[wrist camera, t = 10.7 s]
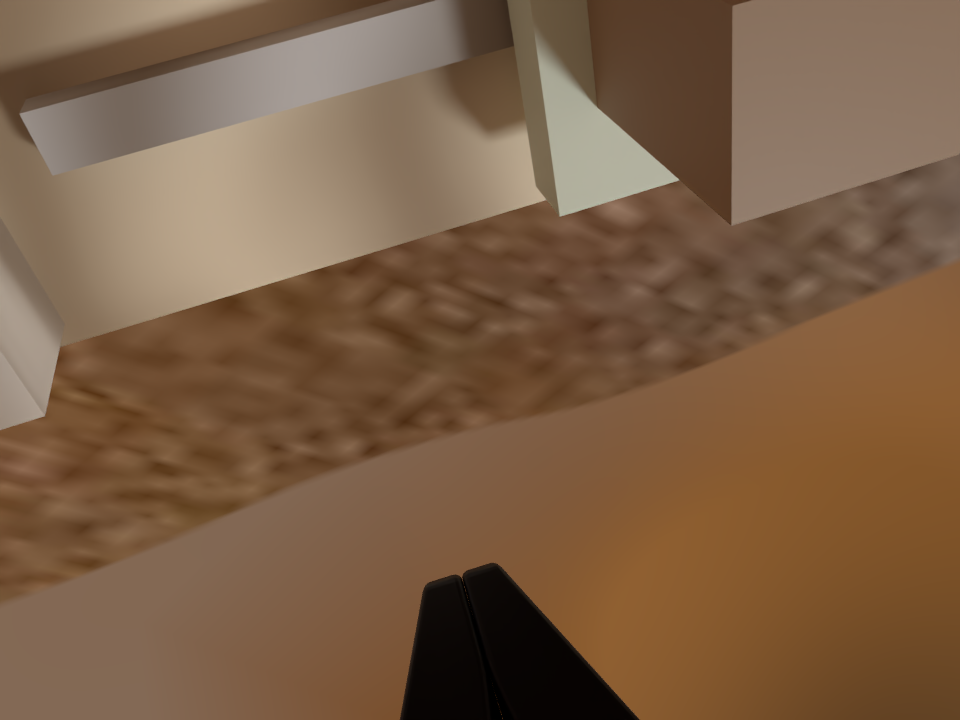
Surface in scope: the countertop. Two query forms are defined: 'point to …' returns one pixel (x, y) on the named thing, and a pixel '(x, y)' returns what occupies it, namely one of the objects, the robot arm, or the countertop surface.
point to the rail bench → (232, 152)
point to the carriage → (734, 96)
